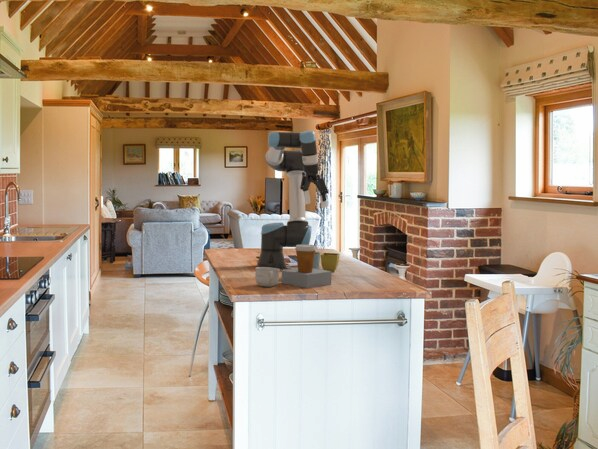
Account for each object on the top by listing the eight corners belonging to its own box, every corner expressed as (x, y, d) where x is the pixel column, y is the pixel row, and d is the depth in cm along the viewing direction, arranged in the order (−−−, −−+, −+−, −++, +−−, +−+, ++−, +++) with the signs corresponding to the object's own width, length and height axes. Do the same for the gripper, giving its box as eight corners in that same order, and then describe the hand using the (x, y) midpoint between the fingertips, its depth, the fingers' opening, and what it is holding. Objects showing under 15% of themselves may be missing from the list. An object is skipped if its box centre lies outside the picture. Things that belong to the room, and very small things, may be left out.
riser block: (281, 283, 299) (281, 270, 299) (305, 279, 311) (305, 267, 310) (307, 288, 288) (307, 274, 288) (331, 284, 300) (331, 271, 299)
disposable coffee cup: (318, 271, 298) (318, 245, 297) (312, 274, 289) (312, 247, 288) (298, 269, 301) (298, 243, 300) (291, 272, 292) (292, 245, 291)
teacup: (254, 283, 297) (255, 266, 296) (278, 283, 298) (279, 266, 297) (255, 289, 283) (255, 270, 282) (280, 289, 284) (281, 271, 283)
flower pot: (336, 272, 335) (337, 255, 334) (319, 272, 337) (320, 254, 336) (339, 270, 344) (339, 253, 343) (322, 269, 345) (323, 252, 345)
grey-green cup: (305, 279, 312) (305, 254, 311) (295, 276, 321) (296, 251, 320) (323, 278, 317) (324, 253, 316) (313, 275, 326) (314, 251, 325)
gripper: (290, 162, 325) (295, 203, 331) (319, 167, 305) (325, 211, 311) (302, 159, 329) (307, 200, 335) (332, 163, 309) (337, 207, 315)
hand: (316, 205), depth 323 cm, fingers open, 13 cm apart
